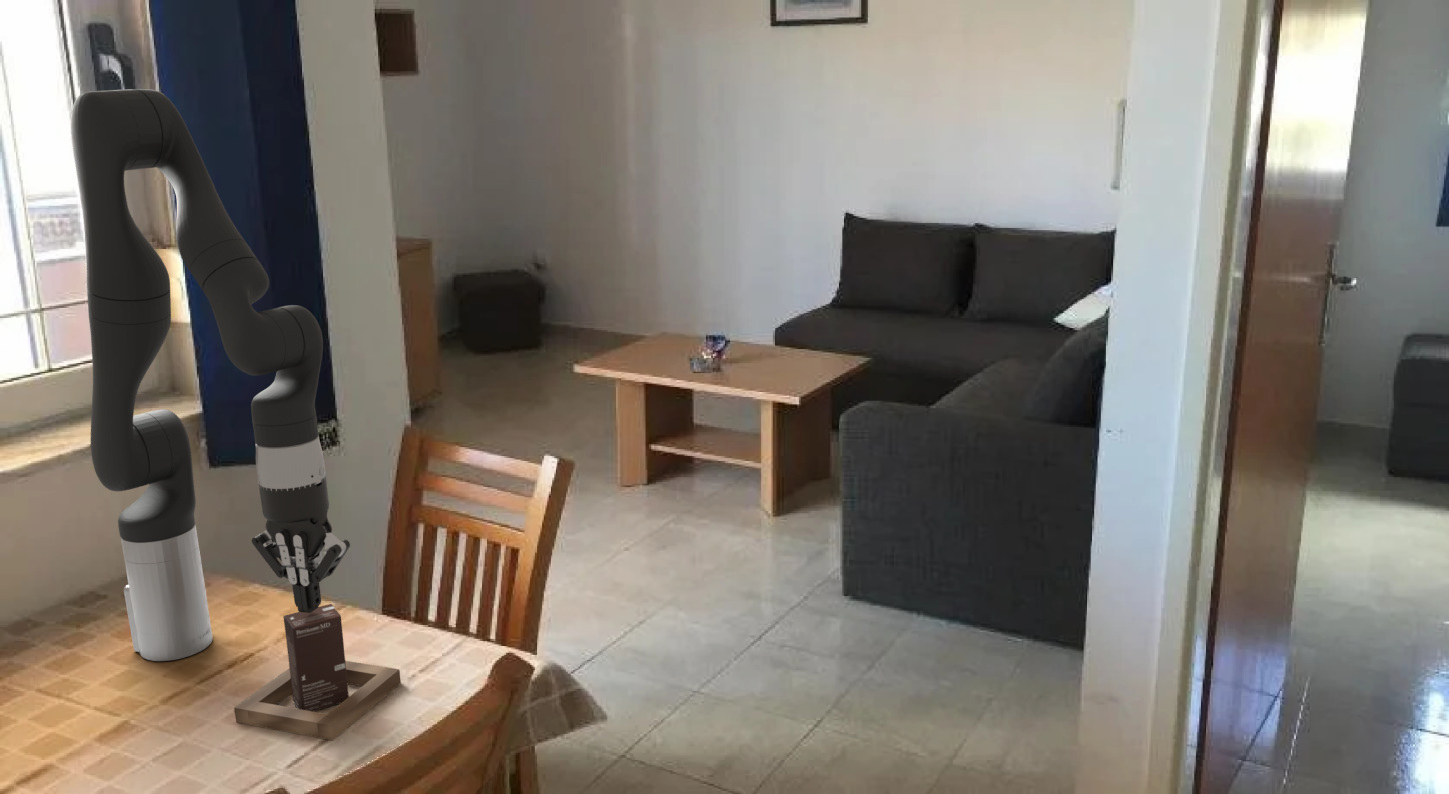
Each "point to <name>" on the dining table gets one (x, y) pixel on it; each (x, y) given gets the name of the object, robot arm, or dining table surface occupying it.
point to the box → (316, 658)
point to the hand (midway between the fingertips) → (309, 609)
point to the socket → (327, 726)
